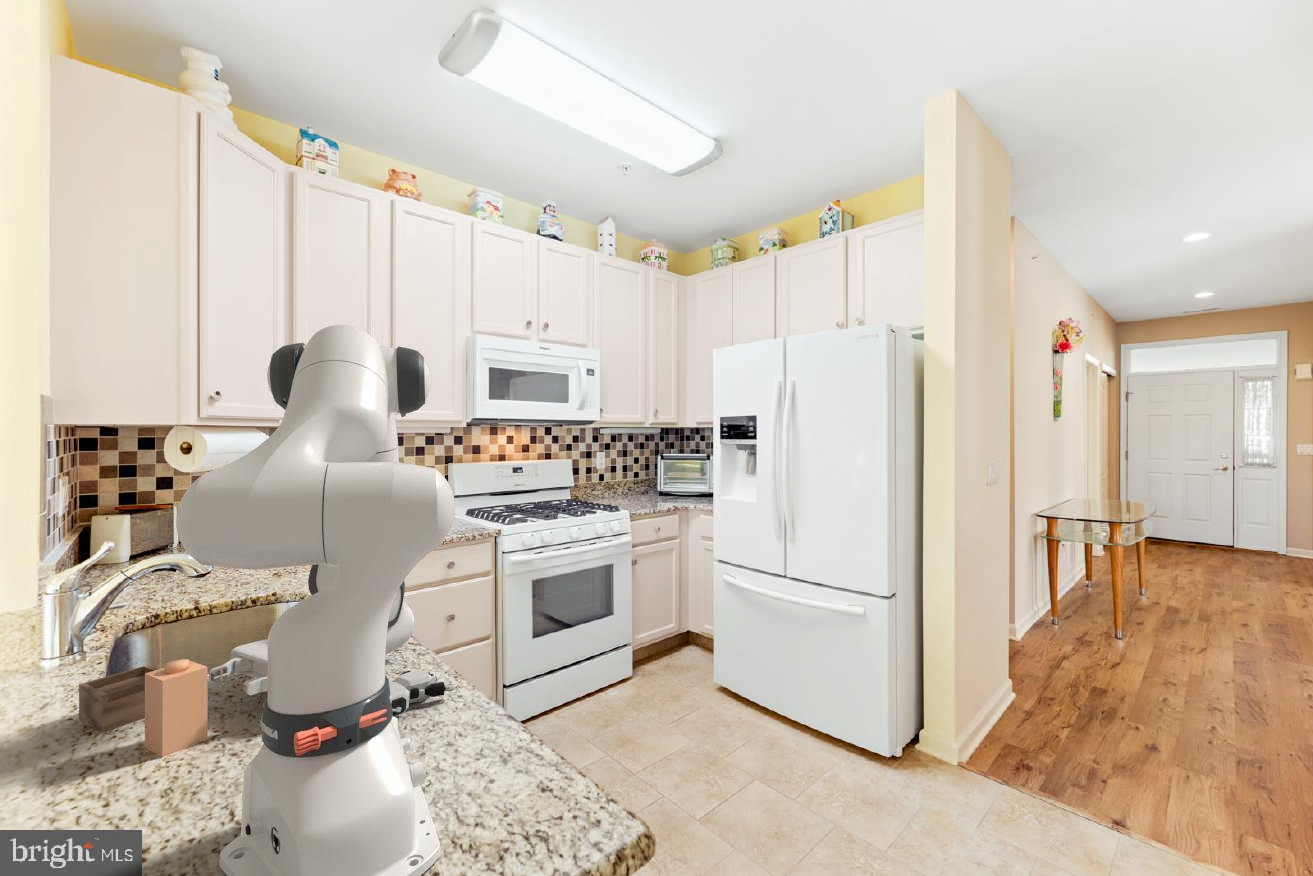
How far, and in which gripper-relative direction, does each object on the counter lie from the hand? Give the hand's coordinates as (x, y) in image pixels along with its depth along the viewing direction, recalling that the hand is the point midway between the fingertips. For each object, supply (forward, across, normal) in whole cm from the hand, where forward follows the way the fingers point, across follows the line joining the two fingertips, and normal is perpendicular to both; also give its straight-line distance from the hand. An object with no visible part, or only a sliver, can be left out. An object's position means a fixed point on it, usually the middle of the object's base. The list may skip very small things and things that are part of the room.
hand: (228, 682), depth 82 cm
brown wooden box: (+6, -17, +6) cm, 19 cm away
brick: (+6, 0, +6) cm, 9 cm away
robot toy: (-14, +18, +6) cm, 23 cm away
